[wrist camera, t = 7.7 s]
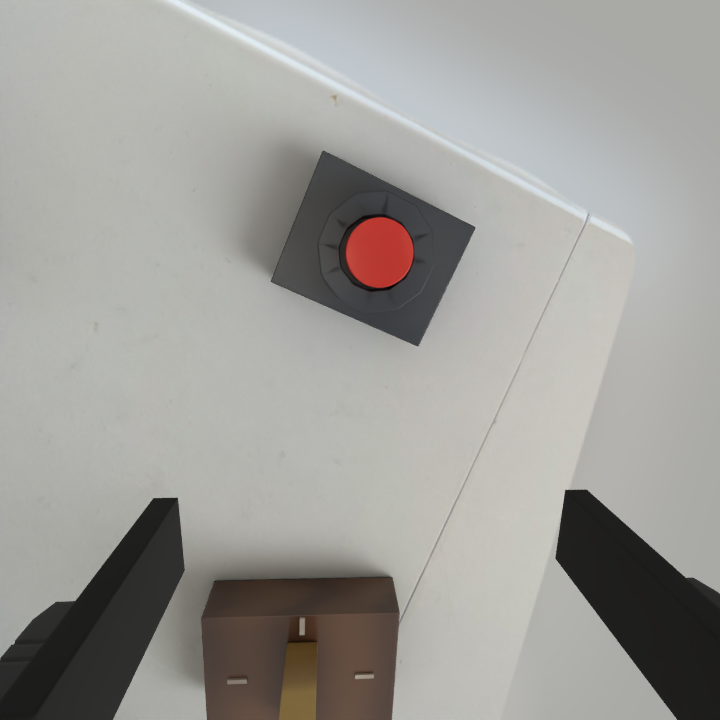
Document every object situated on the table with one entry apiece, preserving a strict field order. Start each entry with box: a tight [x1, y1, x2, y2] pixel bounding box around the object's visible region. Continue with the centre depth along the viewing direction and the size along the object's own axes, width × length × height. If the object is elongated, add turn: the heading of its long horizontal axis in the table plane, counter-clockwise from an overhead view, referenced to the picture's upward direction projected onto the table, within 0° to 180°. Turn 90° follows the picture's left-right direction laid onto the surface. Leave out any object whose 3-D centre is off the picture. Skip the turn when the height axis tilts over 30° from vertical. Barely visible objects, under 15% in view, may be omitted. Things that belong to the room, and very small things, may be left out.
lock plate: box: [201, 577, 400, 720], centre depth 32 cm, size 14×11×4 cm
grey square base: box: [271, 151, 475, 346], centre depth 25 cm, size 10×8×4 cm
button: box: [345, 217, 414, 288], centre depth 22 cm, size 4×4×2 cm
